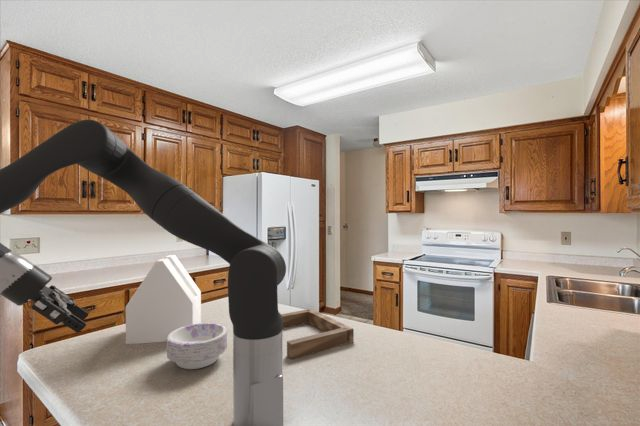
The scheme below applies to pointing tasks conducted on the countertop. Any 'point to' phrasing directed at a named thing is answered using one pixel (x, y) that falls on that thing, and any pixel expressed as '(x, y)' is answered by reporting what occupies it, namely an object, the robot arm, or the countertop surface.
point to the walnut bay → (318, 342)
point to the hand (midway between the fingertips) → (84, 323)
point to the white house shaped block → (162, 303)
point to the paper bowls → (196, 345)
